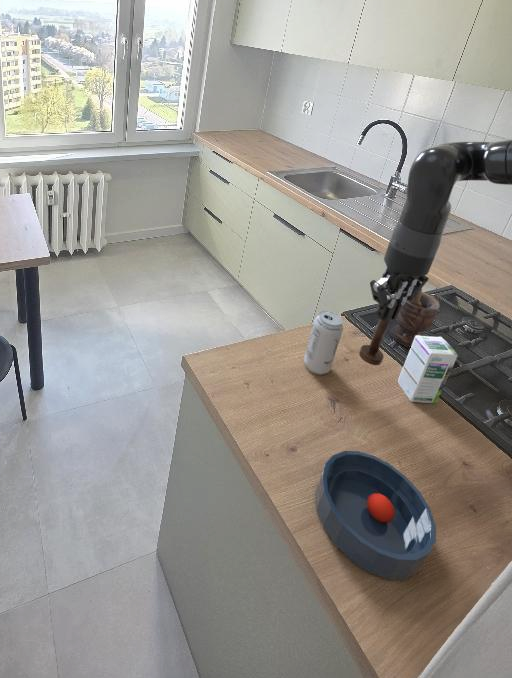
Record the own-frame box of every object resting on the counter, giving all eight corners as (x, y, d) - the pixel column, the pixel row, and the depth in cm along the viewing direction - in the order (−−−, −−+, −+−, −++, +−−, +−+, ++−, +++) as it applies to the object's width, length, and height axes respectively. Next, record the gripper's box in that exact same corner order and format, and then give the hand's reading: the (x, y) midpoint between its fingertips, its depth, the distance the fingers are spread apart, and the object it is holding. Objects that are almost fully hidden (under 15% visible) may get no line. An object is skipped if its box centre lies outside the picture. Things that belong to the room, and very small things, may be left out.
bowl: (364, 460, 80) (372, 440, 78) (447, 558, 66) (461, 536, 64) (294, 487, 75) (301, 466, 73) (369, 600, 61) (381, 578, 59)
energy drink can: (327, 380, 98) (343, 331, 92) (300, 369, 101) (314, 320, 95) (331, 364, 103) (346, 315, 96) (305, 353, 105) (319, 306, 99)
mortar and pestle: (420, 362, 104) (448, 298, 96) (381, 346, 109) (405, 283, 101) (424, 337, 113) (450, 275, 105) (388, 322, 117) (410, 263, 109)
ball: (386, 500, 73) (400, 500, 70) (384, 527, 71) (399, 528, 67) (363, 488, 74) (376, 488, 70) (361, 514, 71) (374, 515, 68)
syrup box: (410, 402, 93) (432, 353, 87) (395, 381, 99) (415, 333, 93) (436, 404, 93) (460, 355, 87) (420, 382, 98) (441, 335, 93)
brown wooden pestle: (368, 347, 94) (391, 288, 87) (386, 362, 90) (411, 302, 83) (354, 352, 92) (376, 293, 85) (372, 367, 88) (396, 307, 82)
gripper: (403, 261, 74) (376, 337, 81) (457, 251, 78) (426, 323, 85) (369, 240, 80) (346, 312, 87) (420, 231, 85) (394, 300, 92)
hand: (386, 317), depth 86 cm, fingers closed on brown wooden pestle, 2 cm apart
